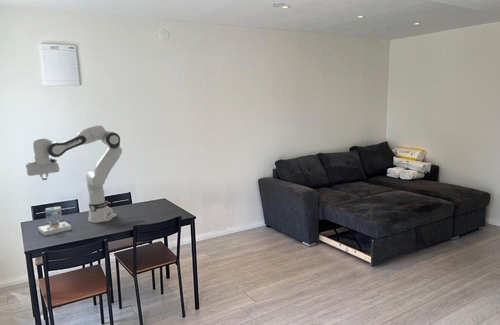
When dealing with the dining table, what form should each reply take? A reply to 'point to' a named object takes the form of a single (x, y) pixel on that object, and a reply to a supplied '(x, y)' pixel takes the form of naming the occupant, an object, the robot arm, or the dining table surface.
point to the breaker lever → (54, 219)
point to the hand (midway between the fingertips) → (44, 180)
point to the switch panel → (54, 228)
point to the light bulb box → (52, 210)
